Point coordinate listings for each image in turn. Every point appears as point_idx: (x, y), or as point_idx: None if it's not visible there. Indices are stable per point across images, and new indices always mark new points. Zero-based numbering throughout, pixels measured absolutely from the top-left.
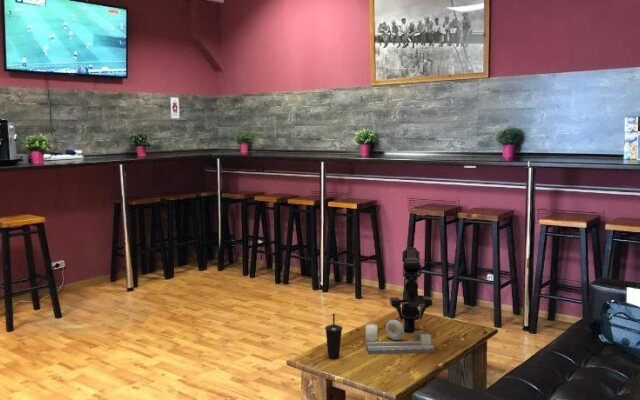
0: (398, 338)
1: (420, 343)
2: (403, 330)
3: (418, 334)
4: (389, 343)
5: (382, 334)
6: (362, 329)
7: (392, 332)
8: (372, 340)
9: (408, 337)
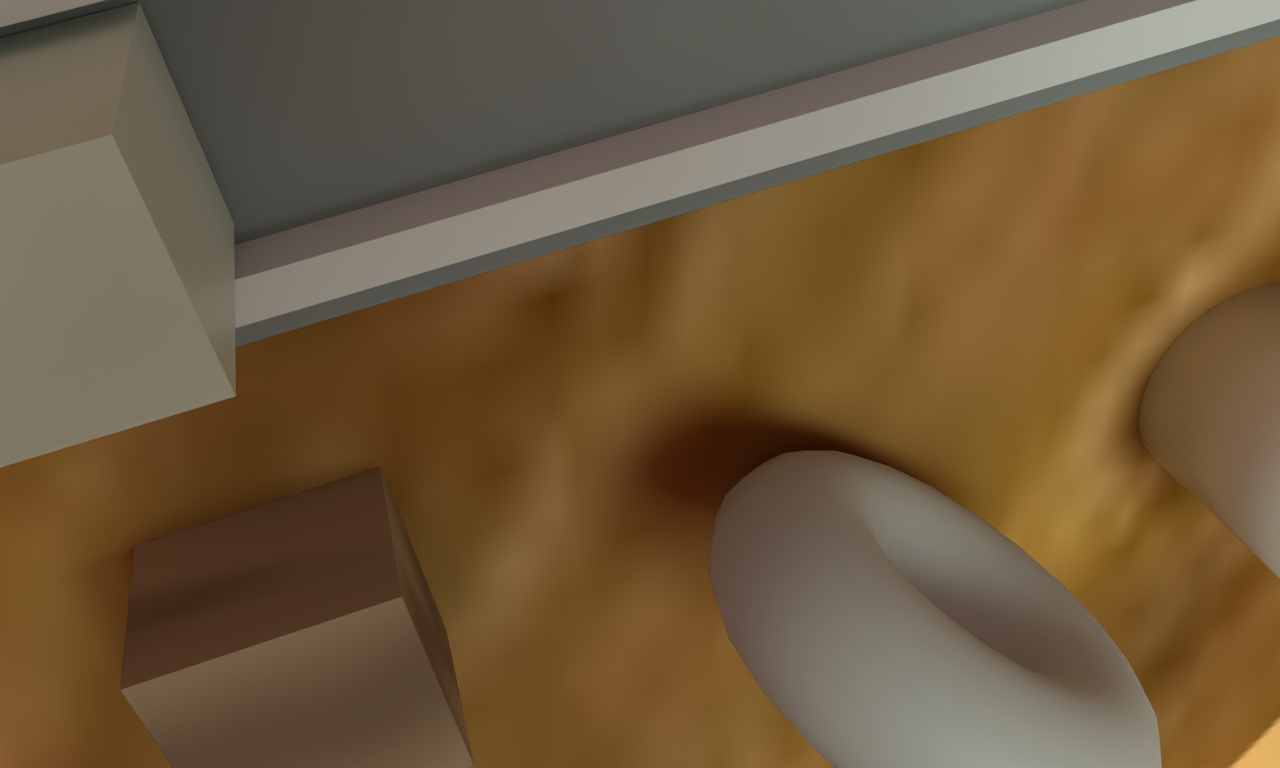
0: (793, 456)
1: (231, 232)
2: (758, 611)
3: (347, 641)
4: (1075, 26)
5: None
6: (1248, 711)
7: (941, 586)
8: (1270, 300)
9: (556, 668)
